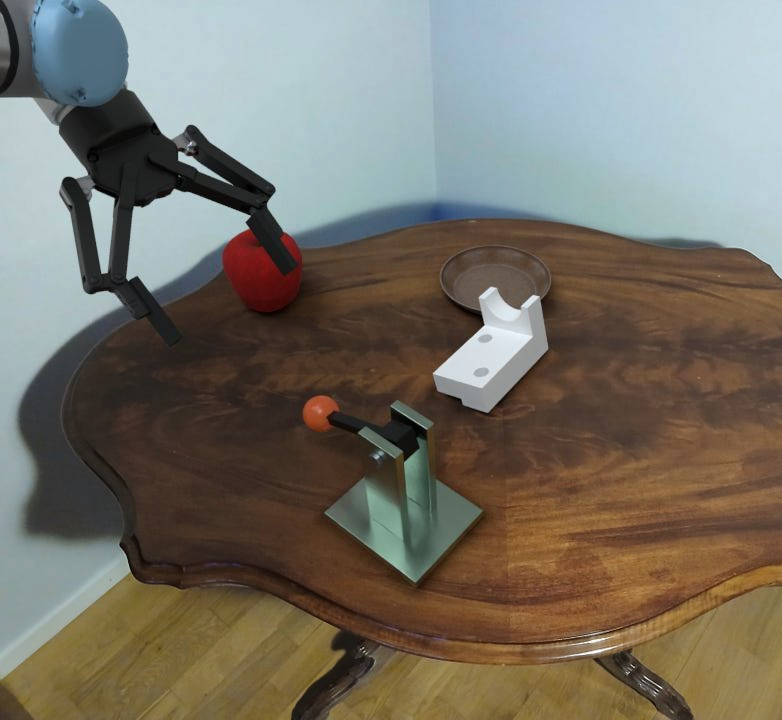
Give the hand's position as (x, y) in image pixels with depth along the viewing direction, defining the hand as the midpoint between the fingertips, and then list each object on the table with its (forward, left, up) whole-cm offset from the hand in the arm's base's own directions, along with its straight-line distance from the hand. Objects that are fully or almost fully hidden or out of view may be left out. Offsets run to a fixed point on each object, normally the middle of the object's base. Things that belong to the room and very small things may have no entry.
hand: (237, 305), depth 70 cm
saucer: (+31, +15, -17) cm, 38 cm away
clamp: (+12, -17, -17) cm, 26 cm away
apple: (+2, +20, -17) cm, 26 cm away
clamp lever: (+9, -13, -8) cm, 18 cm away
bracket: (+26, +1, -17) cm, 31 cm away
